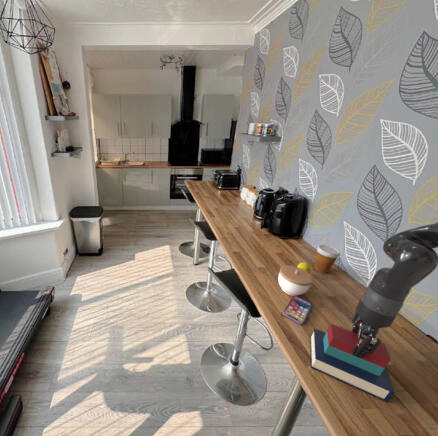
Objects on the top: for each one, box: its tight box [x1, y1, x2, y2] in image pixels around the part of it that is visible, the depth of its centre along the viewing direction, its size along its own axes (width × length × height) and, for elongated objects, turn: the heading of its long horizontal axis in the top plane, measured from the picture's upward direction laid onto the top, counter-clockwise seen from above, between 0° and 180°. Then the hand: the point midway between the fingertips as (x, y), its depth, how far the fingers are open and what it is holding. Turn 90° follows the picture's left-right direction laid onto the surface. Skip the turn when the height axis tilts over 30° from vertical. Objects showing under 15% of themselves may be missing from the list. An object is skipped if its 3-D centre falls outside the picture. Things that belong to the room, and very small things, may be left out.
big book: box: [309, 327, 396, 403], centre depth 73 cm, size 18×13×4 cm
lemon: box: [296, 261, 311, 274], centre depth 114 cm, size 6×6×8 cm
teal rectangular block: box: [323, 331, 385, 376], centre depth 71 cm, size 13×6×4 cm, turn 59°
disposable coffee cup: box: [313, 244, 341, 274], centre depth 119 cm, size 10×10×12 cm
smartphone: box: [282, 295, 313, 325], centre depth 95 cm, size 1×7×15 cm
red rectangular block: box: [326, 323, 391, 368], centre depth 70 cm, size 13×6×4 cm, turn 59°
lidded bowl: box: [277, 265, 314, 297], centre depth 103 cm, size 13×13×11 cm
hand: (354, 347), depth 70 cm, fingers closed on red rectangular block, 6 cm apart
